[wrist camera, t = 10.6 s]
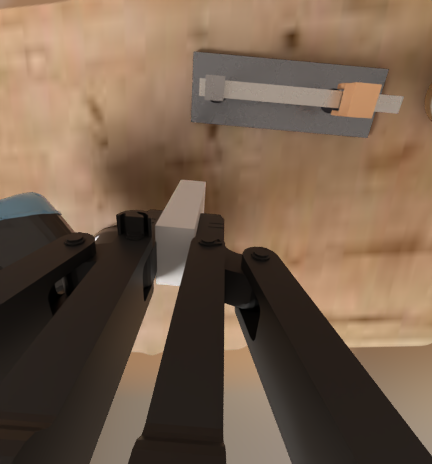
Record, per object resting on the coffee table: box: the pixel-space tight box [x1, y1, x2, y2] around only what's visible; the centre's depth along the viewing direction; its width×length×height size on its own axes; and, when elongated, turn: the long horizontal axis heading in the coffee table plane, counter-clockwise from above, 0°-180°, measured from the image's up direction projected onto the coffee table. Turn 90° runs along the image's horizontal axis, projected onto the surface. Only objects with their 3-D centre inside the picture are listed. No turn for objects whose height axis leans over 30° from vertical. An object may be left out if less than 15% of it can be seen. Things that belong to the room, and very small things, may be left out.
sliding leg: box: [331, 82, 382, 119], centre depth 37 cm, size 3×4×12 cm
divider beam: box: [199, 74, 404, 114], centre depth 38 cm, size 26×3×11 cm, turn 86°
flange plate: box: [191, 52, 389, 138], centre depth 44 cm, size 30×10×1 cm, turn 86°
